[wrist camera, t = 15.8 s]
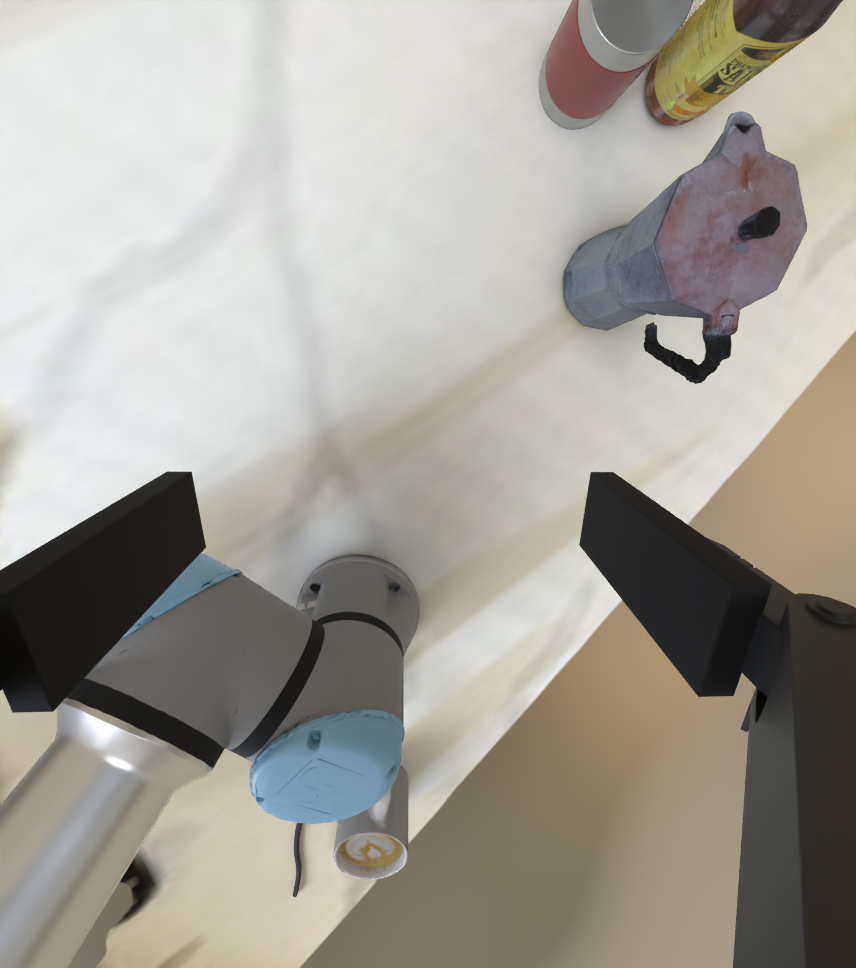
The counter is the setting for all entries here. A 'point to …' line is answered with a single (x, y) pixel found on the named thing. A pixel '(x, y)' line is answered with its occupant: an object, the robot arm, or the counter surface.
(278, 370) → the counter surface
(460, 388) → the counter surface
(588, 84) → the tin can
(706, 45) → the sauce bottle
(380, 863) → the coffee mug
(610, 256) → the moka pot
